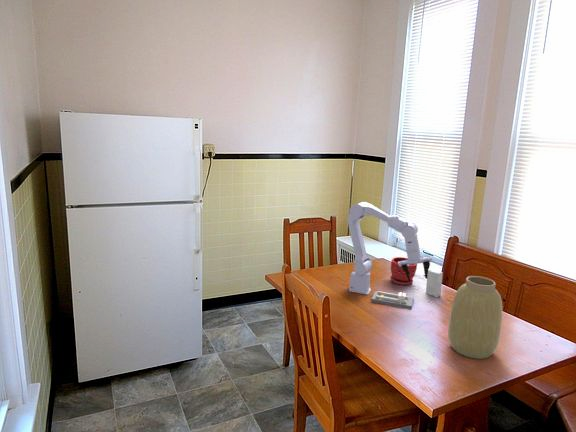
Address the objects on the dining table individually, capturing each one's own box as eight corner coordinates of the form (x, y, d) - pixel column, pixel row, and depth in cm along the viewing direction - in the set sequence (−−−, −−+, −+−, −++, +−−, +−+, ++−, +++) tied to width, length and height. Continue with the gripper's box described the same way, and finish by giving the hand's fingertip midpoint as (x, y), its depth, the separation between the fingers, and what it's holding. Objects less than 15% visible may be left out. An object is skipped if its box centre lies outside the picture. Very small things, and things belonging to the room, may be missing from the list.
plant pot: (389, 285, 212) (391, 263, 210) (389, 276, 225) (391, 255, 222) (415, 288, 209) (418, 266, 207) (413, 279, 222) (416, 258, 219)
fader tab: (397, 300, 189) (398, 294, 188) (398, 297, 192) (399, 291, 192) (404, 301, 188) (405, 296, 187) (405, 298, 191) (406, 293, 191)
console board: (371, 301, 191) (371, 296, 190) (375, 294, 200) (375, 289, 199) (411, 309, 184) (411, 304, 184) (413, 301, 193) (414, 296, 193)
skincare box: (441, 295, 201) (444, 272, 199) (436, 297, 198) (438, 273, 196) (429, 291, 206) (432, 268, 203) (424, 293, 203) (427, 270, 201)
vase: (503, 350, 152) (515, 282, 146) (485, 368, 140) (496, 294, 134) (458, 333, 164) (467, 269, 158) (437, 347, 152) (446, 279, 146)
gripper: (397, 254, 183) (402, 283, 184) (431, 249, 181) (435, 279, 182) (395, 251, 190) (400, 279, 191) (428, 246, 188) (432, 275, 188)
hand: (417, 279), depth 187 cm, fingers open, 7 cm apart
